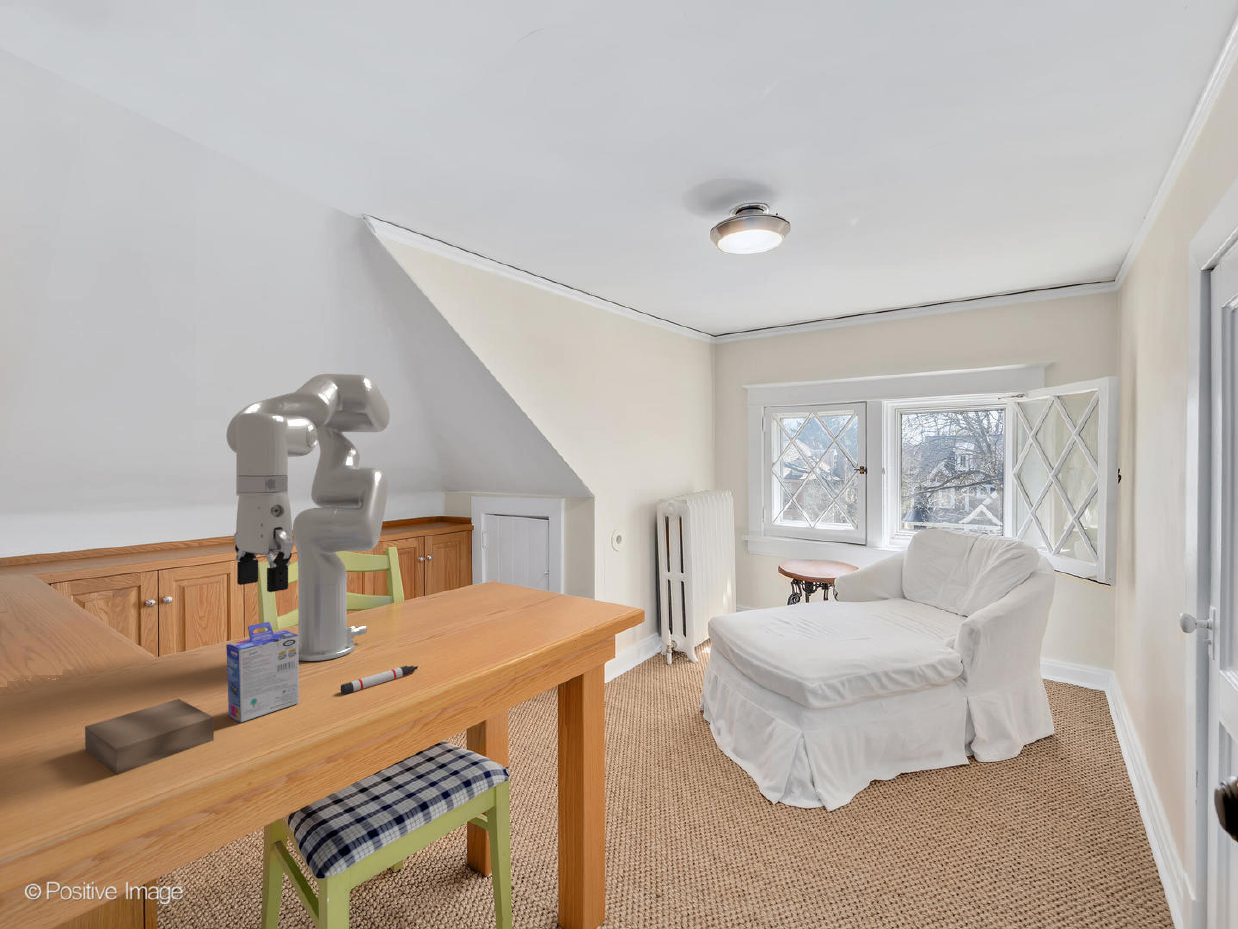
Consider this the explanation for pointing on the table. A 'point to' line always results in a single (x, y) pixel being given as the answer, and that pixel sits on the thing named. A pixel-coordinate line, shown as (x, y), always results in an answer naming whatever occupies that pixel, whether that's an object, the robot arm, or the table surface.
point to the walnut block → (148, 735)
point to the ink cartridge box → (262, 673)
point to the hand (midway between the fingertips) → (262, 587)
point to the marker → (376, 679)
